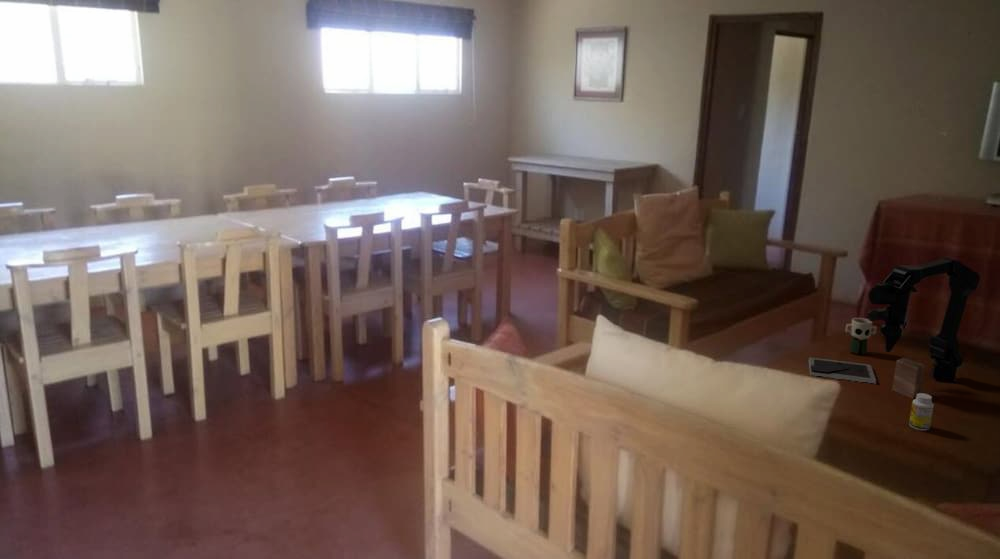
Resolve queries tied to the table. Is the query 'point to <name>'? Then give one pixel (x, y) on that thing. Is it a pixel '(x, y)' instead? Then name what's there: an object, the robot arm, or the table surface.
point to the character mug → (860, 334)
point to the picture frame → (841, 370)
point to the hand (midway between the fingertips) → (889, 348)
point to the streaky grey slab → (908, 377)
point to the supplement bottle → (921, 412)
